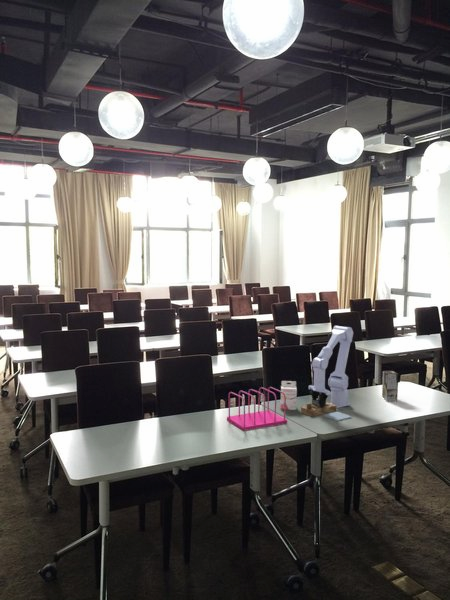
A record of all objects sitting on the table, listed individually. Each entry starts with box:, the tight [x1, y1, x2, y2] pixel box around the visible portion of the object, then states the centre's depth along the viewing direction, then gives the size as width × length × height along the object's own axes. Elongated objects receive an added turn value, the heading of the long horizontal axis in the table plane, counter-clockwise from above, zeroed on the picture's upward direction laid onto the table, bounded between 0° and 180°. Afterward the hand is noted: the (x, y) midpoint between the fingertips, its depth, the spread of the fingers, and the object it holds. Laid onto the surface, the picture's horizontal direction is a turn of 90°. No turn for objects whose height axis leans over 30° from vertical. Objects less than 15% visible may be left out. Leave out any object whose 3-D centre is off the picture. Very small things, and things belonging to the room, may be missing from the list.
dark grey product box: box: [311, 397, 327, 408], centre depth 267 cm, size 6×4×4 cm
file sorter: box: [226, 386, 288, 431], centre depth 250 cm, size 17×25×16 cm
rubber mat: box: [322, 411, 352, 422], centre depth 259 cm, size 10×10×1 cm
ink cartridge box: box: [280, 380, 298, 411], centre depth 272 cm, size 9×5×15 cm, turn 84°
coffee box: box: [381, 370, 399, 403], centre depth 290 cm, size 9×6×16 cm
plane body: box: [300, 401, 337, 417], centre depth 267 cm, size 18×8×5 cm, turn 123°
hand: (318, 405), depth 267 cm, fingers closed on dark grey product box, 4 cm apart
